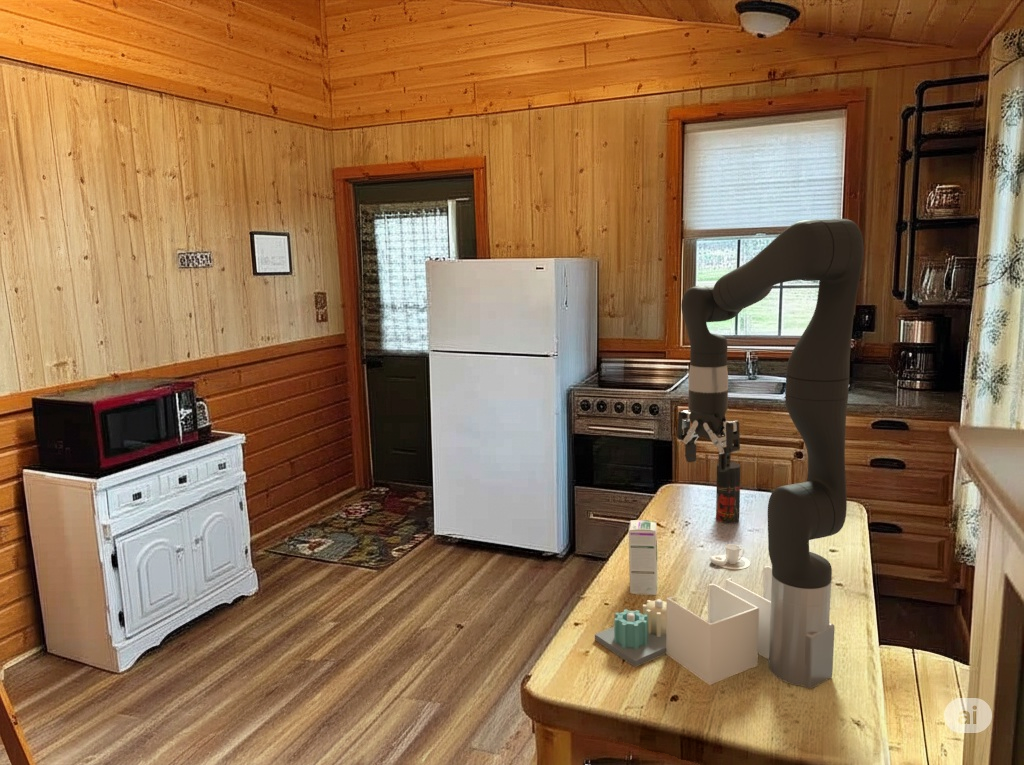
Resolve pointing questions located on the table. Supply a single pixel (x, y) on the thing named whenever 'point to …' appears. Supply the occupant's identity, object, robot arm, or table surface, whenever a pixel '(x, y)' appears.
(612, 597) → the table surface
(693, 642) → the white folded wall panels
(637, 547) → the syrup box
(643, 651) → the board
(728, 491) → the deodorant
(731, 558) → the teacup and saucer
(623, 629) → the gear
